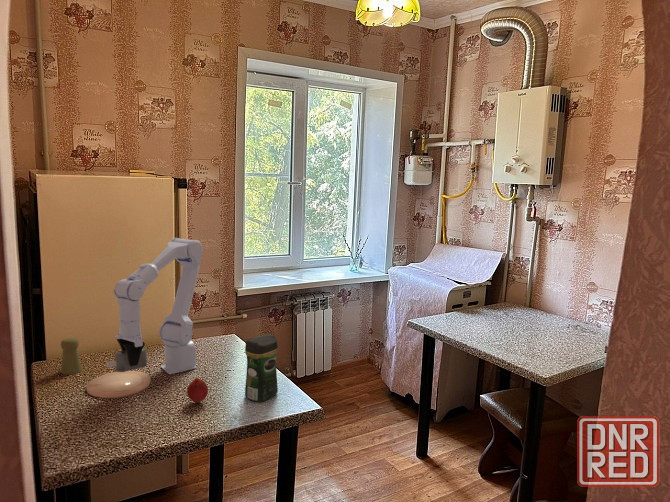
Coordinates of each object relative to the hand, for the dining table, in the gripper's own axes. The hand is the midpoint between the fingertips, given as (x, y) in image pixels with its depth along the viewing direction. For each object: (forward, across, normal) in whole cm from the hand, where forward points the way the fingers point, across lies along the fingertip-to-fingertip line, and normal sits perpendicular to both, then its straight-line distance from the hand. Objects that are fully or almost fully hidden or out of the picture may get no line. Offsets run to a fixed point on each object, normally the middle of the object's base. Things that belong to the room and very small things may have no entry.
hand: (131, 362), depth 144 cm
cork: (+9, -25, -11) cm, 29 cm away
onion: (+9, +20, +12) cm, 25 cm away
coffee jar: (+9, +27, +29) cm, 40 cm away
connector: (+1, 0, -1) cm, 2 cm away
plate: (+8, -5, -2) cm, 10 cm away
